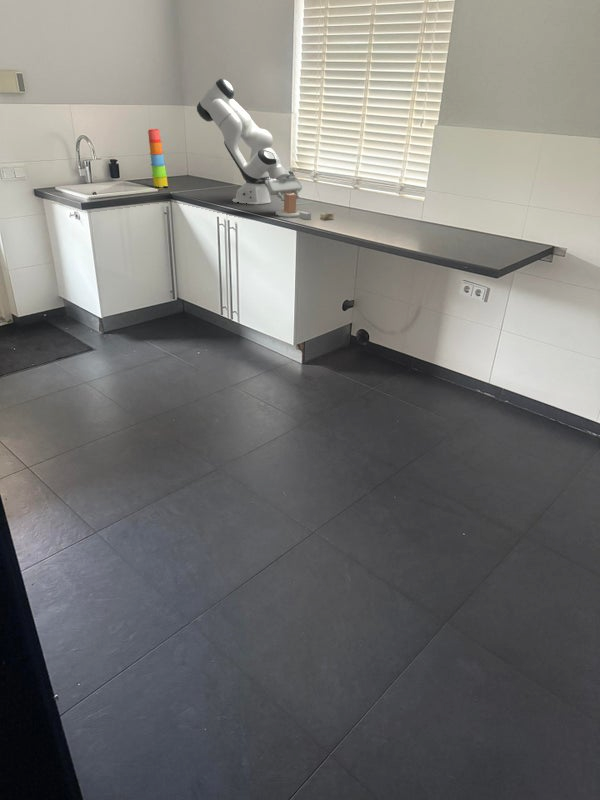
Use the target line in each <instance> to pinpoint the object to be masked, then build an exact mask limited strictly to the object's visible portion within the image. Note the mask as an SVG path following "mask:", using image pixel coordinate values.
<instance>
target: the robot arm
mask: <svg viewBox="0 0 600 800" xmlns="http://www.w3.org/2000/svg"><path fill="white" fill-rule="evenodd" d="M234 96H235V90H234V88H233V86H232V84H231V83H230V82H229V81H228V80H226V79H225V78H219V79H218V80H217V81H216V82H215V83H214V84H212V86H211V87H210V88H209V89H208V90H207V91H206V93H205V94H204V95H203V97H202V98H201V99H200V101H199V102H198V103H197V105H196V112H197V113H198V115H199V117H200V118H201V119H203V120H204V121H206V122H212V121H213V122H214V124H215V125H216V126H217V127H218V129H219V130H220V132H221V133H222V136H223V139H224V142H223V143H224V146H225V148H226V149H227V152H228V153H229V155H230V157H231V158H232V160H233V161H234V163H235V165H236V167H237V168H238V169H239V171H240V173H241V176H242V178H243V180H244V181H245V183H244V184H243V185H242V186H240V187H239V188H238V189H237V191H236V195H235V198H233V199H232V201H233V202H232V203H237V202H239V204H246V203H247V204H248V205H260V204H261V205H262V204H270V203H272V200H271V196H276V197H277V198H279V199H280V201H281V202H284V201H285V197H284V194H289V193H292V194H296V200H299V199H300V195H299V193H301V191H302V190H303V185H302V183H301V181H300V179H299V177H297V175H296V172H294V171H291V170H288V169H285V167H284V166H283V165H282V161H281V159H280V157H279V156H278V155H277V153H276V151H275V150H274V149H273V148H271V147H272V146H273V142H274V138H273V135H272V133H270V131H268V130H267V129H264V128H260V127H259V126H258V125H257V124H256V123H255V121H254V120H253V119H252V118H251V115H250V114H249V113H248V112H247V111H246V110H245V108H243V106H241V105H240V104H239V103H238V102H237V101H236V100H235V99H234ZM240 138H241V140H242V141H243V142H244V143H245V144H246V145H247V147H249V148H250V150H251V151H250V156H249V160H248V162H247V161H246V158H245V156H244V155H243V154H242V153H241V151H240V148H239V142H240ZM247 204H246V205H247Z"/></svg>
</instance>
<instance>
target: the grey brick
mask: <svg viewBox="0 0 600 800" xmlns="http://www.w3.org/2000/svg"><path fill="white" fill-rule="evenodd" d="M299 217H300V218H299ZM299 217H298V218H299V219H302V218H303V219H302V220H306V219H308V220H311V219H312V212H307V211H303V212H299Z"/></svg>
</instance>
